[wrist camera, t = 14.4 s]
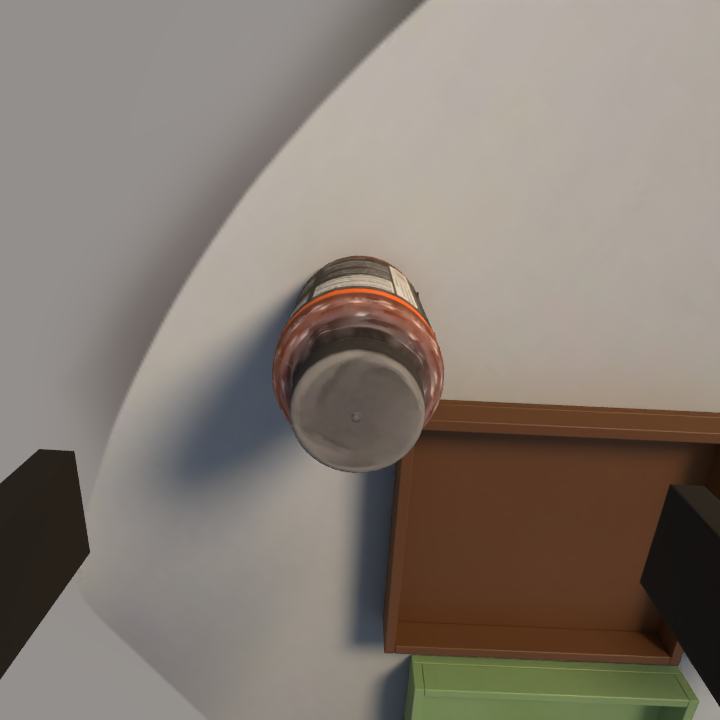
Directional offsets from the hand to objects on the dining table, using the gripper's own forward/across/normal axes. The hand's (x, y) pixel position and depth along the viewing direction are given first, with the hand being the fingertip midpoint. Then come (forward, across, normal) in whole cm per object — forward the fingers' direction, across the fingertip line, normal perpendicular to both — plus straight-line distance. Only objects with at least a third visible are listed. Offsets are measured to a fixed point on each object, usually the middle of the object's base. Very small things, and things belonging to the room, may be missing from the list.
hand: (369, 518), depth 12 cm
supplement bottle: (+15, 0, 0) cm, 15 cm away
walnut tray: (+15, +11, -11) cm, 22 cm away
